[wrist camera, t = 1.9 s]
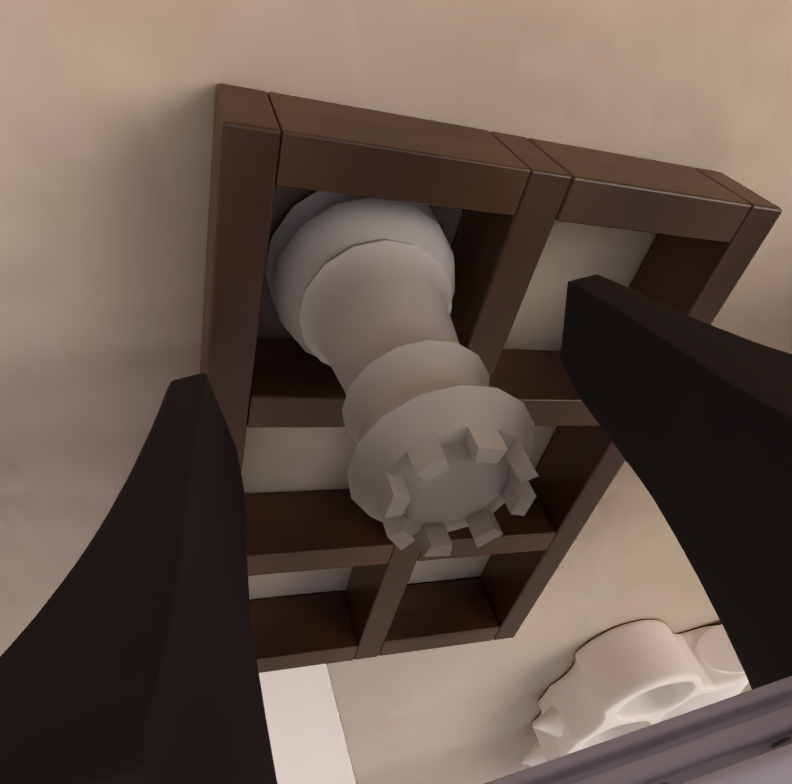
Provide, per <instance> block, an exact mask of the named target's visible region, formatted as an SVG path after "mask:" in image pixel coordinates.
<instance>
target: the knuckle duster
mask: <svg viewBox="0 0 792 784" xmlns="http://www.w3.org/2000/svg"><path fill="white" fill-rule="evenodd" d="M575 658H576V660H575V663H574V665H573V667H572V668H571V669H570V670H569V671H568V672H567V673H566V674H565V675H564V676H563V677H562V678H561V679H559V680H558V681H556V682H555V683H553V684H552V685H551V686H550V687H549V688H548V690H547V691H546V692H545V693H544V695H543V696H542V697H541V699H540V700H539V706H540V709H541V711H542V712H541V714H540V715H539V716H538V718H537V719H535V720H534V721H533V722H532V726H531V727H533V729H534V731H535V734H536V736H537V739H538V741H537V742H536V744H535V745H534V746H533V748H532V749H531V750H530V751H529V753H528V754H527V755H526V757H525V758H524V759H523V760H522V762H521V764H527V765H533V766H536V765H539V764H542V763H545V762H547V761H550V760H553V759H556V758H559V757H562V756H565V755H567V754H570V753H573V752H576V751H579V750H582V749H585V748H587V747H590V746H593V745H596V744H599V743H602V742H604V741H607V740H610V739H613V738H616V737H619V736H622V735H624V734H627V733H630V732H633V731H636V730H639V729H642V728H644V727H647V726H650V725H653V724H656V723H659V722H662V721H664V720H667V719H670V718H673V717H676V716H679V715H681V714H684V713H687V712H690V711H693V710H696V709H699V708H701V707H704V706H707V705H710V704H713V703H716V702H719V701H721V700H724V699H727V698H730V697H733V696H736V695H739V694H740V692H741V691H742V690H743V689H744V687H745V686H746V685H747V684H748V682H749V681H748V679H747V676H746V674H745V672H744V670H743V668H742V666H741V663H740V661H739V659H738V657H737V655H736V653H735V650H734V648H733V646H732V644H731V642H730V640H729V638H728V635H727V633H726V631H725V629H724V627H723V625H722V624H721V625H714V626H705V627H702V628H698V629H695V630H691V631H688V632H684V633H681V634H674V633H672V632H671V630H670V629H669V627H668V626H667V625H666V624H664V623H663V622H661V621H657V620H641V621H635V622H631V623H627V624H624V625H621V626H618V627H616V628H613V629H611V630H609V631H607V632H605V633H603V634H601V635H599V636H597V637H596V638H594V639H592V640H591V641H589V642H588V643H586V644H585V645H584V646H583V647H581V648H580V649H579V650H578V651H577V652H576V653H575Z"/></svg>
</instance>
